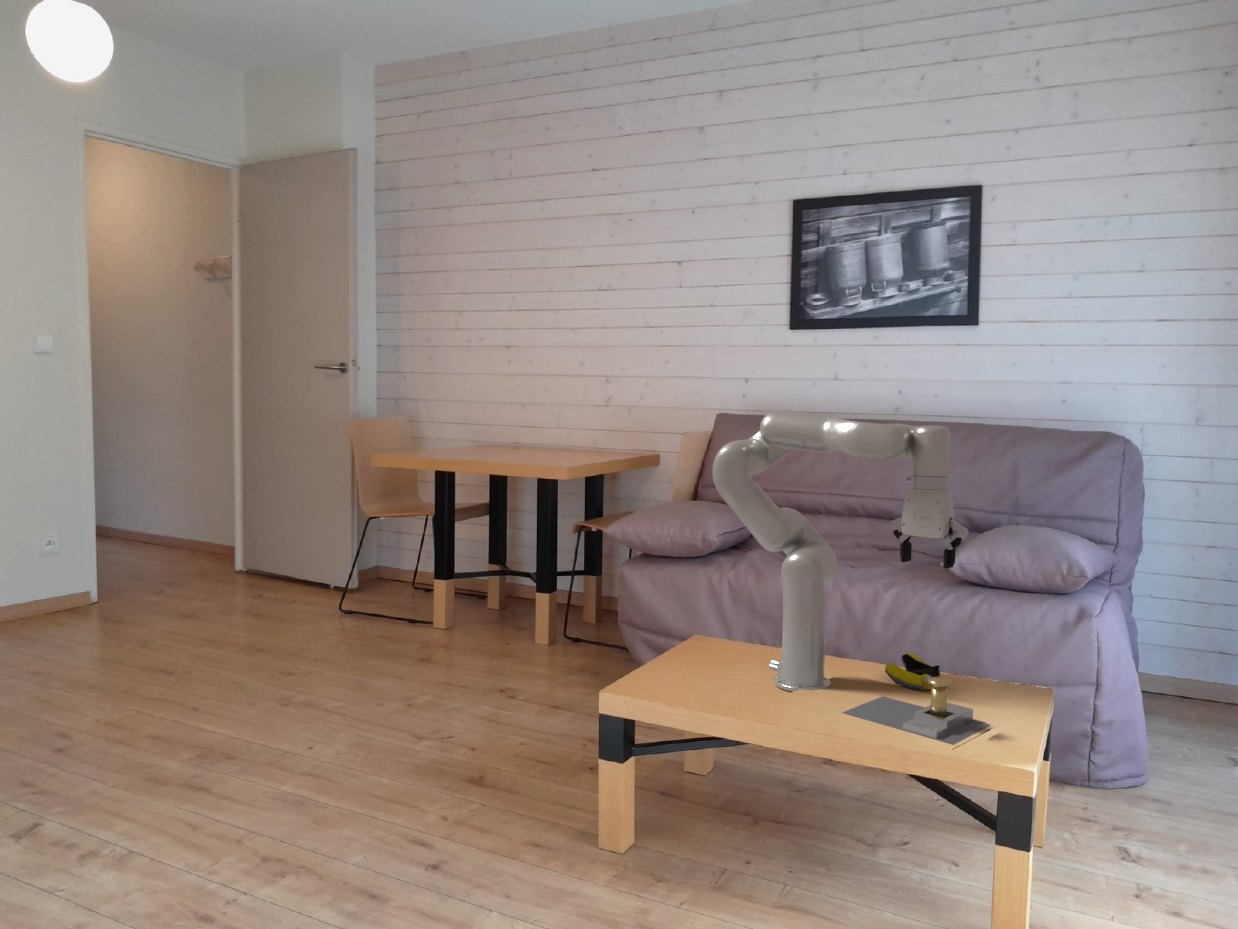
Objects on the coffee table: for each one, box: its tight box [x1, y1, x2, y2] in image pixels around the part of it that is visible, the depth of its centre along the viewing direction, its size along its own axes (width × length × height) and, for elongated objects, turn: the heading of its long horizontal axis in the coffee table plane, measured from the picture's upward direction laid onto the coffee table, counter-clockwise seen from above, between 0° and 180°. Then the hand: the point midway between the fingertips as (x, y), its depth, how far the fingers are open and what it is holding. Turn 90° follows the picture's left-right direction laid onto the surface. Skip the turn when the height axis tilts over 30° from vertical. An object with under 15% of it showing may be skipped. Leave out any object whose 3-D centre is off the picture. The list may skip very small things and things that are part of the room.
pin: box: [928, 676, 952, 718], centre depth 187 cm, size 4×4×9 cm
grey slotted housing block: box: [903, 702, 974, 739], centre depth 187 cm, size 7×15×2 cm, turn 134°
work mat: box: [841, 696, 991, 750], centre depth 191 cm, size 24×16×1 cm, turn 44°
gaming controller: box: [884, 652, 943, 692], centre depth 218 cm, size 15×6×10 cm
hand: (926, 564), depth 201 cm, fingers open, 9 cm apart
